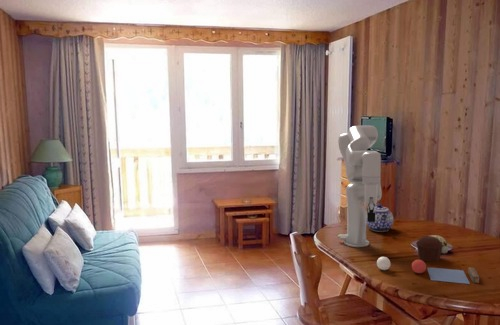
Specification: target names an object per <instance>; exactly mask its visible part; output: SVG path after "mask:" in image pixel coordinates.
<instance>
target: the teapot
mask: <svg viewBox="0 0 500 325" xmlns="http://www.w3.org/2000/svg"><path fill="white" fill-rule="evenodd" d="M382 205H383V204H382V203H377V204H376V207H375V222H368V221H367V220H366V227H368V228H369V229H370V230H371V231H373V232H379V233H380V232H381V233H382V232H383V233H384V232H388V231H389V230H390V229H391V228H392V227H393V225H394V215H393V213H392V212H391V211H390V210H389V208H388V207H385V206H382Z"/></svg>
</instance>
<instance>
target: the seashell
mask: <svg viewBox="0 0 500 325" xmlns="http://www.w3.org/2000/svg"><path fill="white" fill-rule="evenodd" d="M431 236H433V237H436V238H437V239H438V240H439V241H440V242H441V243H442V245H443V247H442V251H441V254H447V253H448V250H449V245H448V242H447V241H446V239H445V238H444V237H442V236H441V235H438V234H437V235H436V234H435V235H431Z"/></svg>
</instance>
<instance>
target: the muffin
mask: <svg viewBox="0 0 500 325" xmlns="http://www.w3.org/2000/svg"><path fill="white" fill-rule="evenodd" d="M415 243H416V248H417V255H418V258H419V260H422V261H423V262H424V261H425V262H439V261H440V260H441V256H442V253H441V251H442V247H443V245H442V243H441V242H440V241H439V240H438V239H437V238H436V237H433V236H432V235H423V236H422V237H420V238H419V239H418V240H417V241H416V242H415Z"/></svg>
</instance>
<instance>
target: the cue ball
mask: <svg viewBox="0 0 500 325" xmlns="http://www.w3.org/2000/svg"><path fill="white" fill-rule="evenodd" d="M391 265H392V264H391V261H390V259H389V258H388V257H386V256H380V257H378V259H377V260H376V266H377V267H378V269H379V270H381V271H387V270H388V269H390V268H391Z"/></svg>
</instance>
